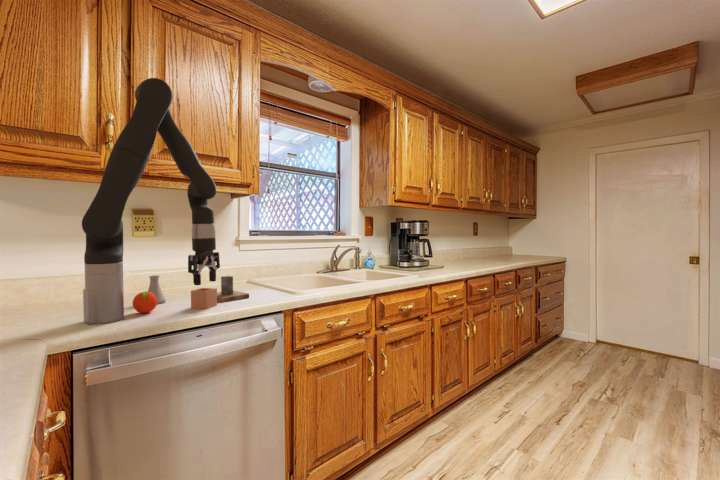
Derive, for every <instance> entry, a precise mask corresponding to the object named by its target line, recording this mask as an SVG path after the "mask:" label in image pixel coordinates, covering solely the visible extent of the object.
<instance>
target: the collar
mask: <svg viewBox="0 0 720 480" xmlns="http://www.w3.org/2000/svg"><path fill="white" fill-rule="evenodd" d="M217 293H218V289H217V287H208V288H207V287H198V288H195V289H193V290H190V309H209V308H212V307H215V306H218V302H217Z"/></svg>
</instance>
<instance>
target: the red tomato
mask: <svg viewBox="0 0 720 480" xmlns="http://www.w3.org/2000/svg"><path fill="white" fill-rule="evenodd" d="M157 305H158V304H157V297H156V296H155V295H154V294H153V293H151V292H148V291H142V292H139V293H138V294H136V295H135V296H134V297H133V300H132V307H133V309H134V310H135V311H136V312H138V313H141V314H147V313H150V312H152V311H153V310H155V308H156V307H157Z"/></svg>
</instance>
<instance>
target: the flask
mask: <svg viewBox="0 0 720 480" xmlns="http://www.w3.org/2000/svg"><path fill="white" fill-rule="evenodd" d="M147 292H151V293H153V294H154V295H155V296H156V297H157V305H159V304H162V303H166V302H167V299H166V297H165V295H164V292H163V290H162V287H161V285H160V275H157V274H156V275H149V286H148V290H147Z"/></svg>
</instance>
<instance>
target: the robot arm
mask: <svg viewBox="0 0 720 480" xmlns="http://www.w3.org/2000/svg"><path fill="white" fill-rule="evenodd" d="M134 91H135V92H134V99H135V101H136V102H135V106H134V108H133V112H132V114H131V117H130V118H129V120H128V121H127V123H126V124H125V126H124V128H123V129H122V130H121V132H120V133H119V135H118V137H117V139H116V141H115V143H114V145H113V147H112V149H111V152H110V154H109V157H108V159H107V161H106V162H107V163H106V165H105V167H104V171H103V173H102V176H101V177H102V178H101V181H100V185H99V188H98V190H97V192H96V194H95V196H94V197H93V199H92V201H91V204H90V205H89V207H88V209H86V212H85V213H84V215H83V217H82V218H81V219H82V220H81V228H82V231H83V232H84V234H85V251H84V257H83V259H84V261H83V262H84V289H82V295H83V296H82V297H83V298H82V299H83V300H82V301H83V322H84V323H86V324H88V325H98V324H99V325H100V324H109V323H114V322H119V321H120V320H123V319H124V318H125V309H124V308H125V307H124V306H125V304H124V303H125V301H124V300H125V299H124V298H125V297H124V294H125V293H124V259H123V258H124V257H123V256H124V223H123V220H122V218H123V216H124V215H123V214H124V211H125V207H126V205H127V201H128V199H129V197H130V195H131V194H132V192H133V191H134V189H135V188H136V186H137V184H138V183H139V181H140V179H141V178H142V175H143V173H144V172H145V169H146V166H147V164H148V162H149V159H150V156H151V153H152V150H153V147H154V144H155V141H156V136H157V133H158V134H159V136H160V137H161V140H163V141H162V142H164V144H165V146H166V147H167V150H168V151H169V153H170V155H171V157H172V158H173V161H174V163H175V164H176V166H177V168H178V170H179V172H180V173H181V175H182V176H185V177H187V178H189V180H190V183H189V184H188V185H187V186H188V187H187V191H186V193H187V199H188V203H189V207H190V210H191V223H192V225H191V243H192V244H191V247H192V249H191V251H193V252H194V254H188V255H187V258H188V259H187V272H188V273H189V274H192V277H193V279H192V280H193V284H194V286H201V285H202V279H201V278H202V274H201V273H202V270H203V269H204V268H205V267H207V268H208V270H209V272H208V278H209V282H216V281H217V271H218V269H220V267H221V266H220V265H221V264H220V252H219V251H218V252H217V251H215V250H216V249H217V244H216V243H217V242H216V227H215V214H214V213H215V212H214V209H213V208H212V207H210V205H209V202H208V200H211V199H213V198H215V196H216V194H217V186H216V183H215V181H214V179H213V178H212V176H211V175H210V174H209V173H208V172H207V170H206V169H205V168H204V167H203V166H202V163H201V162H200V160H199V157H198V155H197V153H196V152H195V150H194V148H193V147H192V144H191V143H190V142H189V140H188V139H187V138H186V137H185V135H184V134H183V132H182V131H181V130H180V128H178V125H177V124H176V122H175V121H174V118H173V116H172V113H171V112H170V107H171V105H172V103H173V99H174V98H173V90H172V89H171V87H170V85H169V84H168V83H167V82H166V81H164V80H163V79H162V78H157V77H151V78H147V79H145V80H143V81H142V82H141V83H139V84H138V86H136V89H135V90H134ZM192 268H193V269H192Z"/></svg>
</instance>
